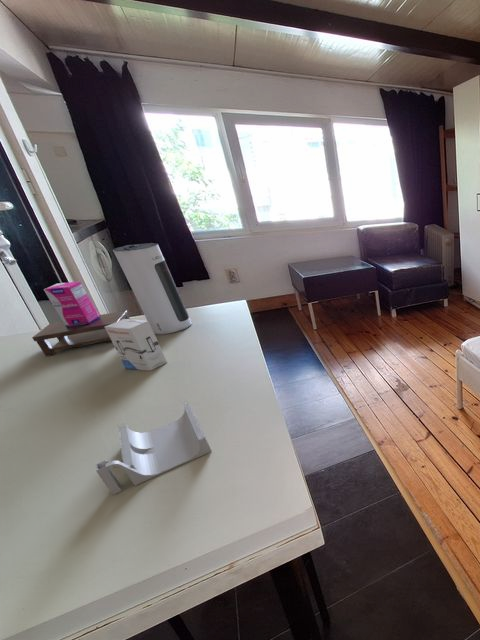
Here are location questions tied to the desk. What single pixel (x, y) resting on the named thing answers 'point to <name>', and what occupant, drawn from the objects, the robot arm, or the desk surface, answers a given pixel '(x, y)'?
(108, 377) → the desk surface
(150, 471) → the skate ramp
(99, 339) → the rack
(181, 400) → the desk surface
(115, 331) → the ink box
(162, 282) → the speaker
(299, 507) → the desk surface
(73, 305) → the supplement box
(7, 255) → the robot arm
